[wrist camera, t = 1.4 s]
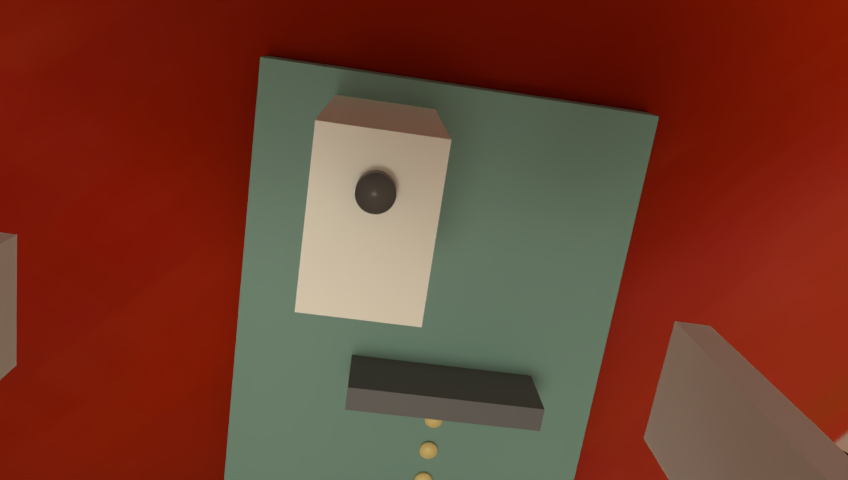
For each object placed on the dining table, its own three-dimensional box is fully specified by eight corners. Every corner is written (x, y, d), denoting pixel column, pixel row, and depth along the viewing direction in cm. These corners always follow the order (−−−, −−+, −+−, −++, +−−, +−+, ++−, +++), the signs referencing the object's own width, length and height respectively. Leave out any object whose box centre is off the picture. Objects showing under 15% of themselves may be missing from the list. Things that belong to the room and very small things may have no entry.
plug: (334, 94, 29) (313, 122, 21) (435, 109, 29) (453, 142, 21) (316, 253, 31) (290, 337, 23) (411, 265, 31) (419, 352, 23)
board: (266, 55, 30) (245, 60, 26) (646, 112, 31) (687, 126, 27) (225, 526, 36) (202, 595, 32) (544, 557, 37) (564, 626, 33)
